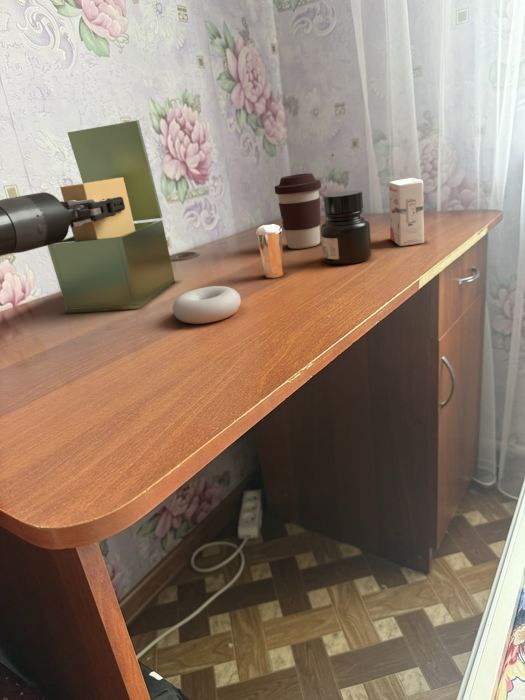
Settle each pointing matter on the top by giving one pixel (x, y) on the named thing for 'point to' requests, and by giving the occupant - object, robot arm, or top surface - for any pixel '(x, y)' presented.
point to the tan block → (98, 191)
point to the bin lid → (118, 163)
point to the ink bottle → (345, 229)
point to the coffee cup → (300, 209)
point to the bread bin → (113, 269)
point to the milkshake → (271, 249)
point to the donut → (206, 304)
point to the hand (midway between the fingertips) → (109, 204)
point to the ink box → (406, 211)
